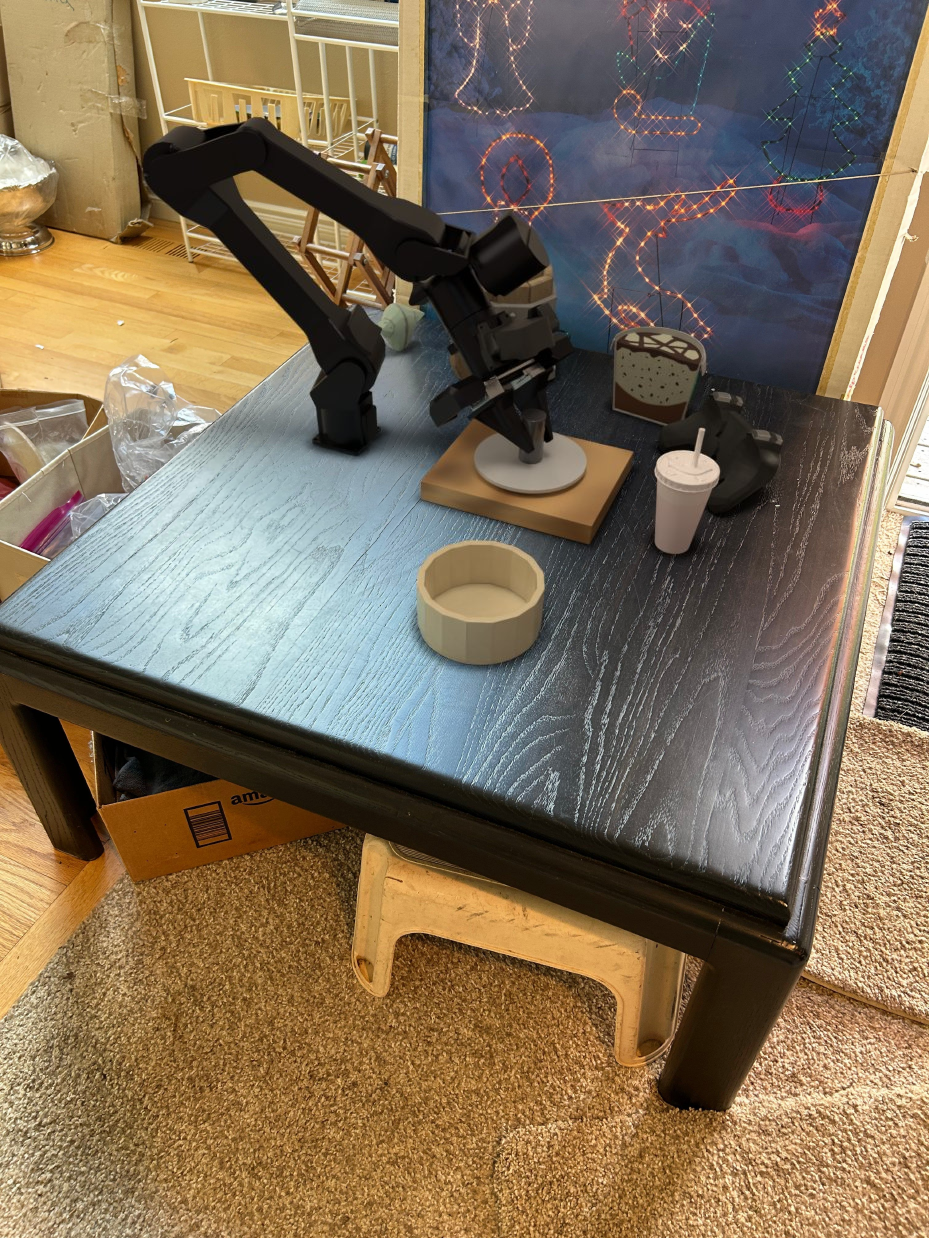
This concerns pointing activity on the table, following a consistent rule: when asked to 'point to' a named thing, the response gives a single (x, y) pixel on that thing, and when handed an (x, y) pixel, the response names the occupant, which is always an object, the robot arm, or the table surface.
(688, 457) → the smoothie
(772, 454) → the game controller
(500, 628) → the tin
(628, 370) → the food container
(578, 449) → the lid
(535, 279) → the tankard
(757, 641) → the table surface
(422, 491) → the board
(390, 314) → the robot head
